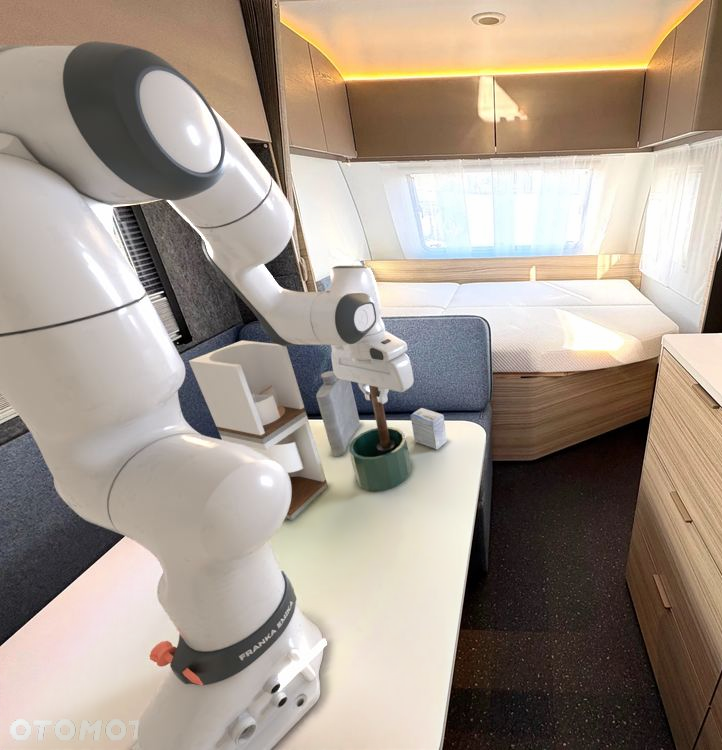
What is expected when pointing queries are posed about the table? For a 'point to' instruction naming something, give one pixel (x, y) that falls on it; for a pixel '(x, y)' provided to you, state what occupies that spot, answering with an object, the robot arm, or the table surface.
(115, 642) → the table surface
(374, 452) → the canister
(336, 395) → the hip flask
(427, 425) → the medicine box
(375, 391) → the wooden plunger stick
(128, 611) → the table surface
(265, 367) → the white storage rack
